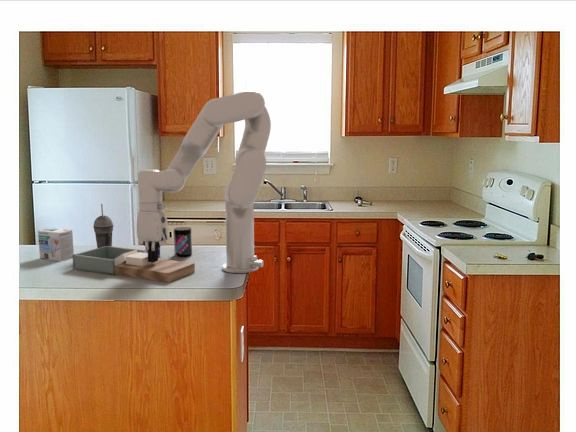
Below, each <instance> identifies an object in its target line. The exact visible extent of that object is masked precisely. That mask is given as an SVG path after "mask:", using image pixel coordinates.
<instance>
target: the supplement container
mask: <svg viewBox="0 0 576 432" xmlns="http://www.w3.org/2000/svg"><path fill="white" fill-rule="evenodd" d="M173 251H174V252H173V253H174V256H175V257H177V258H186V257H191V256H192V254H193V237H192V227H188V226H179V227H174V228H173Z"/></svg>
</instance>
